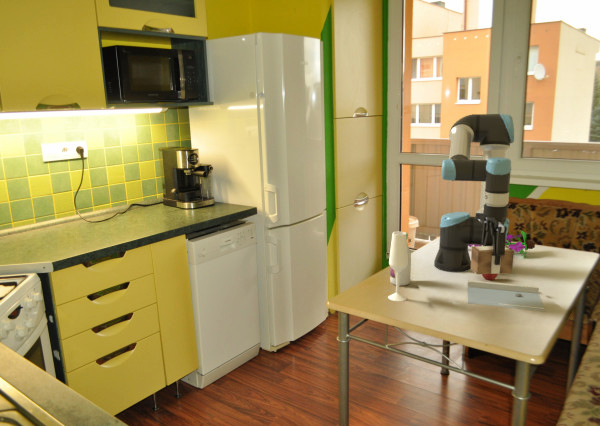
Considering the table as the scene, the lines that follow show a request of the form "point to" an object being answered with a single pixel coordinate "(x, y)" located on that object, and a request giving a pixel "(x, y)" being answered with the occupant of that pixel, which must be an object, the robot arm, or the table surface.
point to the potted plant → (519, 245)
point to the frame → (490, 260)
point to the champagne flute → (398, 260)
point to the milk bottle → (405, 273)
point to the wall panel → (504, 295)
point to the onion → (489, 276)
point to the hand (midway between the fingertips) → (491, 269)
